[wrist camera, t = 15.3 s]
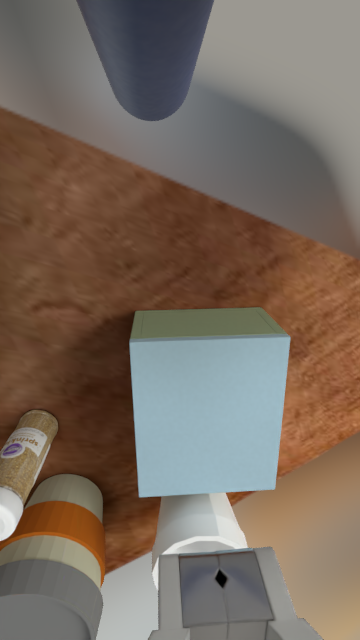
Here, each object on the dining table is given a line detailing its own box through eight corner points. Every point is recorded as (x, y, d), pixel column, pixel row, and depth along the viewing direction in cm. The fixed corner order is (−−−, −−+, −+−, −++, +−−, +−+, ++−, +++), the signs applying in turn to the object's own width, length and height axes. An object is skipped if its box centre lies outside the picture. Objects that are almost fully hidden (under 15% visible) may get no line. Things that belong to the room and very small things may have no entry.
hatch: (272, 483, 36) (275, 489, 35) (139, 490, 35) (138, 497, 34) (287, 333, 30) (290, 336, 29) (129, 338, 29) (129, 342, 29)
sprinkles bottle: (48, 403, 40) (-3, 496, 27) (65, 433, 41) (25, 535, 29) (12, 415, 40) (-55, 515, 27) (31, 445, 42) (-24, 552, 29)
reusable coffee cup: (0, 510, 45) (-73, 653, 30) (52, 445, 42) (-1, 571, 28) (82, 549, 48) (50, 695, 34) (135, 491, 45) (126, 625, 31)
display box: (252, 427, 43) (272, 475, 35) (142, 432, 42) (138, 482, 35) (261, 307, 38) (286, 333, 30) (135, 310, 37) (129, 338, 29)
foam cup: (151, 496, 45) (149, 606, 33) (155, 439, 42) (154, 536, 30) (221, 497, 46) (244, 604, 34) (230, 441, 43) (259, 536, 31)
